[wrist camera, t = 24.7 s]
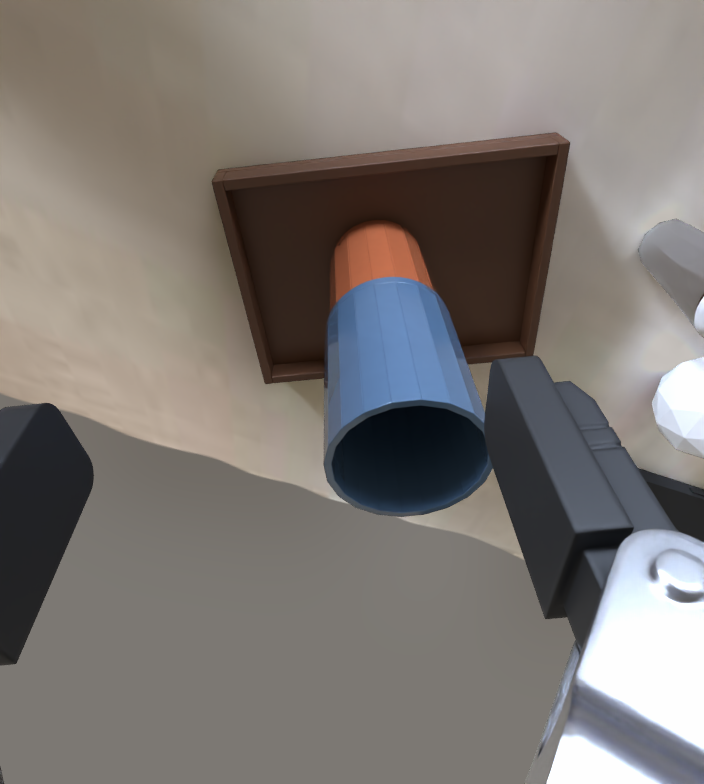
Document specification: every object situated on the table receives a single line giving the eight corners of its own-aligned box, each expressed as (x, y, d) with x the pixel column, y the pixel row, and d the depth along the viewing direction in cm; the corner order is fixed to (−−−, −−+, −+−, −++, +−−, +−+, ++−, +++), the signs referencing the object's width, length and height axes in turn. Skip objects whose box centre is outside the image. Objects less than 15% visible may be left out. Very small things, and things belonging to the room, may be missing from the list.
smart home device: (602, 467, 44) (757, 516, 50) (594, 452, 45) (746, 502, 51) (543, 520, 49) (690, 559, 54) (537, 505, 50) (682, 545, 56)
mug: (324, 224, 30) (324, 289, 24) (422, 214, 30) (446, 276, 24) (339, 339, 36) (342, 415, 30) (422, 331, 35) (442, 406, 29)
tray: (267, 366, 38) (264, 384, 36) (217, 169, 29) (211, 181, 27) (524, 341, 37) (533, 358, 36) (557, 132, 28) (570, 142, 26)
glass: (334, 388, 28) (336, 523, 21) (316, 284, 24) (311, 411, 17) (449, 375, 28) (490, 508, 21) (452, 268, 24) (503, 390, 17)
